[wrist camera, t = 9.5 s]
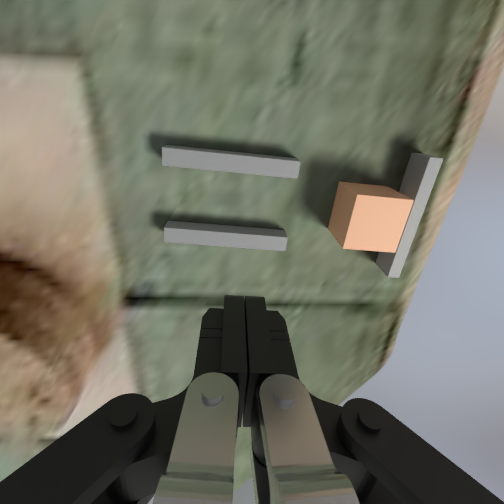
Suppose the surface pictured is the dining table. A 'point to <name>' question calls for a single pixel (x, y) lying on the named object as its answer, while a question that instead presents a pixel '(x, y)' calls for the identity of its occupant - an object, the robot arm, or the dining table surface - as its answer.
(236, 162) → the chute
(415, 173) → the end stop
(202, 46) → the dining table surface
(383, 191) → the terracotta block
